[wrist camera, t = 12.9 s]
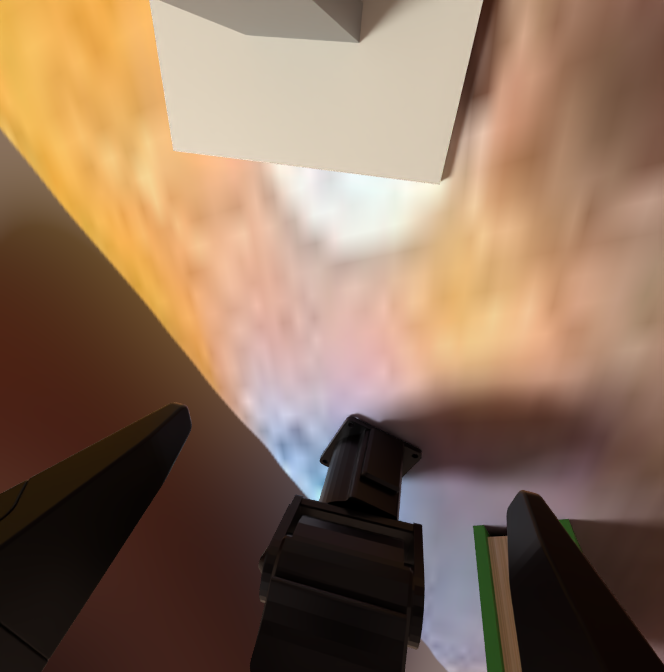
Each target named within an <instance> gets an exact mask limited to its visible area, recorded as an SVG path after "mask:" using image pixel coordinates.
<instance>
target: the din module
mask: <svg viewBox="0 0 664 672" xmlns="http://www.w3.org/2000/svg"><path fill="white" fill-rule="evenodd" d="M160 1H162V2H165V3H167V4H170V5H172V6H175V7H177V8H180V9H182V10H185V11H187V12H190V13H192V14H195V15H197V16H200V17H202V18H205V19H207V20H210V21H212V22H215V23H217V24H220V25H222V26H225V27H227V28H230V29H232V30H235V31H237V32H240V33H242V34H244V35H249V36H264V37H279V38H293V39H308V40H323V41H337V42H352V43H359V41H360V31H361V20H362V10H363V2H362V1H361V0H160Z"/></svg>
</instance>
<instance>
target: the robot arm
mask: <svg viewBox="0 0 664 672" xmlns="http://www.w3.org/2000/svg"><path fill="white" fill-rule="evenodd" d="M352 423H353V424H352ZM191 427H192V424H191V419H190V414H189V410H188V407H187V406H186V405H184V404H180V403H176V402H173V403H170V404H168V405H166V406H164V407H162V408H160V409H158V410H156V411H155V412H153V413H151V414H149V415H147V416H145V417H143V418H142V419H140V420H138V421H136V422H134V423H132V424H131V425H128V426H127V427H125V428H123V429H121V430H119V431H117V432H116V433H113V434H112V435H110V436H108V437H106V438H104V439H102V440H100V441H99V442H97V443H95V444H93V445H91V446H89V447H87V448H85V449H84V450H82V451H80V452H78V453H76V454H74V455H72V456H71V457H69V458H67V459H65V460H63V461H61V462H59V463H57V464H56V465H54V466H52V467H50V468H48V469H46V470H44V471H42V472H41V473H39V474H37V475H35V476H33V477H31V478H30V479H29V480H28V481H27V480H26V481H24V482H22V483H20V484H18V485H16V486H14V487H12V488H10V489H9V490H7V491H5V492H3V493H1V494H0V672H41V671H42V670H43V668H44V667H45V665H46V664H47V662H48V659H49V658H50V657H51V656H52V654H53V653H54V651H55V649H56V648H57V646H58V645H59V643H60V642H61V640H62V639H63V637H64V636H65V634H66V633H67V631H68V629H69V628H70V626H71V625H72V623H73V622H74V620H75V619H76V617H77V615H78V614H79V613H80V611H81V609H82V608H83V606H84V605H85V603H86V602H87V600H88V599H89V597H90V595H91V594H92V592H93V591H94V589H95V588H96V586H97V585H98V583H99V582H100V580H101V578H102V577H103V576H104V574H105V572H106V571H107V569H108V568H109V566H110V565H111V563H112V562H113V560H114V559H115V557H116V555H117V554H118V552H119V551H120V549H121V548H122V546H123V545H124V543H125V542H126V540H127V539H128V537H129V536H130V534H131V532H132V531H133V529H134V527H135V526H136V525H137V523H138V522H139V520H140V519H141V517H142V515H143V514H144V512H145V511H146V509H147V508H148V506H149V505H150V503H151V502H152V500H153V498H154V497H155V495H156V494H157V492H158V491H159V489H160V488H161V486H162V484H163V483H164V481H165V479H166V478H167V476H168V474H169V472H170V470H171V468H172V466H173V464H174V462H175V461H176V458H177V457H178V455H179V453H180V451H181V449H182V447H183V445H184V443H185V441H186V439H187V437H188V435H189V433H190V431H191ZM421 457H422V451H421V450H420V449H419V448H417V447H414V446H412V445H410V444H408V443H406V442H404V441H402V440H400V439H398V438H396V437H394V436H392V435H390V434H388V433H386V432H384V431H382V430H379V429H377V428H375V427H373V426H371V425H369V424H367V423H365V422H363V421H361V420H359V419H357V418H355V417H348V418H346V420H345V421H344V423H343V424H342V426H341V427H340V429H339V430H338V432H337V433H336V435H335V436H334V437H333V439H332V440H331V442H330V443H329V445H328V446H327V448H326V449H325V451H324V452H323V454H322V455H321V458H320V462H321V464H323V465H325V466H327V467H329V468H328V472H327V475H326V479H325V482H324V486H323V489H322V492H321V496H320V499H319V501H315V500H311V499H307V498H303V496H300V495H295V497H294V499H293V501H292V503H291V504H289V506H288V508H287V510H286V512H285V514H284V516H283V518H282V520H281V522H280V524H279V526H278V528H277V530H276V532H275V534H274V536H273V538H272V540H271V542H270V545H269V546H268V547H267V549H266V550H265V552H264V553H263V555H262V556H261V558H260V561H259V569H260V571H261V574H262V577H261V584H260V593H259V596H260V601H261V602H264V603H265V605H264V610H263V614H262V618H261V623H260V627H259V631H258V636H257V640H256V644H255V647H254V651H253V654H252V658H251V662H250V671H251V672H405V664H406V654H407V647H410V648H413V649H418V647H419V643H420V638H421V632H422V624H423V613H424V591H425V585H424V558H423V535H422V525H421V524H417V523H413V524H411V523H407V522H402V521H398V520H399V508H400V496H401V484H402V477H403V476H404V475H405V474H406V473H407V472H408V471H409V470H410V469H411V468H412V467H413V466H414V465H415V464H416V463H417V462H418V461H419V460H420V459H421ZM507 543H508V570H509V584H510V593H511V600H512V607H513V614H514V621H515V628H516V635H517V641H518V648H519V655H520V662H521V669H522V672H664V664H663V663H662V661H661V660H660V658H659V657H658V656H657V654H656V653H655V652H654V650H653V649H652V647H651V646H650V645H649V643H648V642H647V641H646V639H645V638H644V637H643V635H642V634H641V632H640V631H639V630H638V628H637V627H636V626H635V624H634V623H633V621H632V620H631V619H630V617H629V616H628V615H627V613H626V612H625V611H624V609H623V608H622V606H621V605H620V604H619V602H618V601H617V600H616V598H615V597H614V595H613V594H612V593H611V591H610V590H609V589H608V587H607V586H606V584H605V583H604V582H603V580H602V579H601V578H600V576H599V575H598V574H597V572H596V571H595V569H594V568H593V567H592V565H591V564H590V563H589V561H588V560H587V558H586V557H585V556H584V554H583V553H582V552H581V550H580V549H579V547H578V546H577V545H576V543H575V542H574V541H573V539H572V538H571V537H570V535H569V534H568V532H567V531H566V530H565V528H564V527H563V526H562V524H561V523H560V521H559V520H558V519H557V517H556V516H555V515H554V513H553V512H552V511H551V509H550V508H549V506H548V505H547V504H546V502H545V501H544V500H543V498H542V497H541V496H540V495H538V494H536V493H533V492H529V491H525V490H521V491H519V492H518V494H517V495H516V497H515V498H514V500H513V501H512V503H511V504H510V506H509V507H508V510H507Z"/></svg>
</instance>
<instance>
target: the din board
mask: <svg viewBox="0 0 664 672" xmlns="http://www.w3.org/2000/svg"><path fill="white" fill-rule="evenodd" d="M149 1H150V7H151V14H152V20H153V26H154V32H155V39H156V45H157V51H158V57H159V64H160V70H161V76H162V82H163V89H164V95H165V101H166V107H167V114H168V120H169V126H170V132H171V139H172V145H173V151H179V152H187V153H195V154H203V155H211V156H218V157H226V158H234V159H242V160H250V161H258V162H266V163H274V164H281V165H289V166H297V167H305V168H313V169H321V170H329V171H337V172H345V173H352V174H360V175H368V176H376V177H384V178H392V179H400V180H408V181H415V182H423V183H431V184H439V185H440V181H441V177H442V172H443V168H444V164H445V160H446V155H447V151H448V147H449V143H450V138H451V134H452V130H453V126H454V122H455V117H456V113H457V109H458V105H459V100H460V96H461V92H462V88H463V83H464V79H465V75H466V71H467V67H468V62H469V58H470V54H471V50H472V45H473V41H474V37H475V33H476V28H477V24H478V20H479V16H480V12H481V7H482V3H483V0H361V1H362V2H363V10H362V20H361V31H360V41H359V43H352V42H337V41H323V40H308V39H293V38H279V37H264V36H249V35H244V34H242V33H240V32H237V31H235V30H232V29H230V28H227V27H225V26H222V25H220V24H217V23H215V22H212V21H210V20H207V19H205V18H202V17H200V16H197V15H195V14H192V13H190V12H187V11H185V10H182V9H180V8H177V7H175V6H172V5H170V4H167V3H165V2H162V1H160V0H149Z"/></svg>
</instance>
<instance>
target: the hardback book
mask: <svg viewBox="0 0 664 672" xmlns="http://www.w3.org/2000/svg"><path fill="white" fill-rule="evenodd" d="M559 521H560V523H561V524H562V526H563V527H564V528H565V530H566V531H567V532H568V534H569V535H570V537H571V538H572V539H573V541H574V542H575V543H576V545H577V546H578V547H579V549H580V550H581V548H580V545H579V543H578V540H577V538H576V536H575V533H574V531H573V529H572V526H571V524H570V522H569V519H563V520H559ZM473 529H474V540H475V550H476V560H477V570H478V581H479V591H480V601H481V611H482V621H483V632H484V642H485V652H486V662H487V672H522V669H521V662H520V655H519V648H518V641H517V635H516V628H515V621H514V614H513V607H512V600H511V593H510V584H509V570H508V543H507V536H498V537H491V536H490V535H489V533H488V531H487V530H486V528H485V526H484V525H479V526H473ZM581 552H582V550H581ZM582 553H583V552H582Z"/></svg>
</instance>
